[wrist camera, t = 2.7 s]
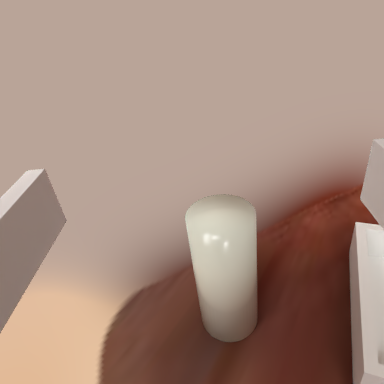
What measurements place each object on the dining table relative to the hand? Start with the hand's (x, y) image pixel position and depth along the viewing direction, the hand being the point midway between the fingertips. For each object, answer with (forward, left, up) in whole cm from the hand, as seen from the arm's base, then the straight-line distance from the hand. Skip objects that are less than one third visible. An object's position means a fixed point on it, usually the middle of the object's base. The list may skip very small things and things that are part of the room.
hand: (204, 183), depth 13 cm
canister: (+3, -10, -23) cm, 25 cm away
